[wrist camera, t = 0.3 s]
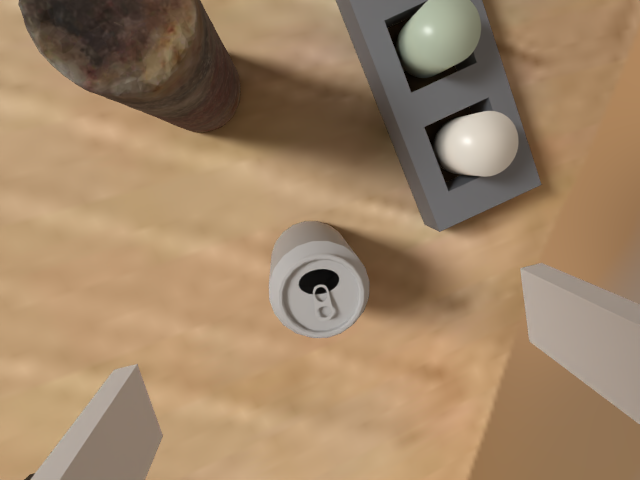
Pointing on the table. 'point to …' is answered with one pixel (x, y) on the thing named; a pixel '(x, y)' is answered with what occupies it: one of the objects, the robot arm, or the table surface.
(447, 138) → the white egg
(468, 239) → the table surface
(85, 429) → the robot arm
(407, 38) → the pale green egg
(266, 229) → the table surface
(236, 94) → the dark brown tall cylinder
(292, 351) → the table surface
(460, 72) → the grey egg tray
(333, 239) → the can
